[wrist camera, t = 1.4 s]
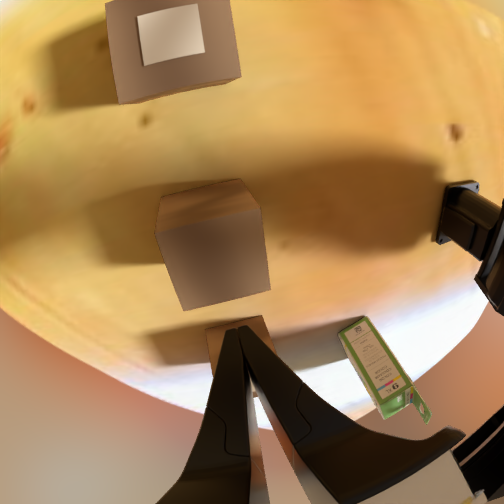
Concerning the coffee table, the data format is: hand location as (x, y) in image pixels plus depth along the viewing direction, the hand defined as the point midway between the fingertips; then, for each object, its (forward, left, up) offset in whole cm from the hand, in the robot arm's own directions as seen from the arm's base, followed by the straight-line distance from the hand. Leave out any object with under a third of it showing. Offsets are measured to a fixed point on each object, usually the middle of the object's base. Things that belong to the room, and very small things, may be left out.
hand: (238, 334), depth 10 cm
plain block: (0, 0, -10) cm, 10 cm away
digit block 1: (0, -11, -10) cm, 15 cm away
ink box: (-13, +18, -10) cm, 24 cm away
